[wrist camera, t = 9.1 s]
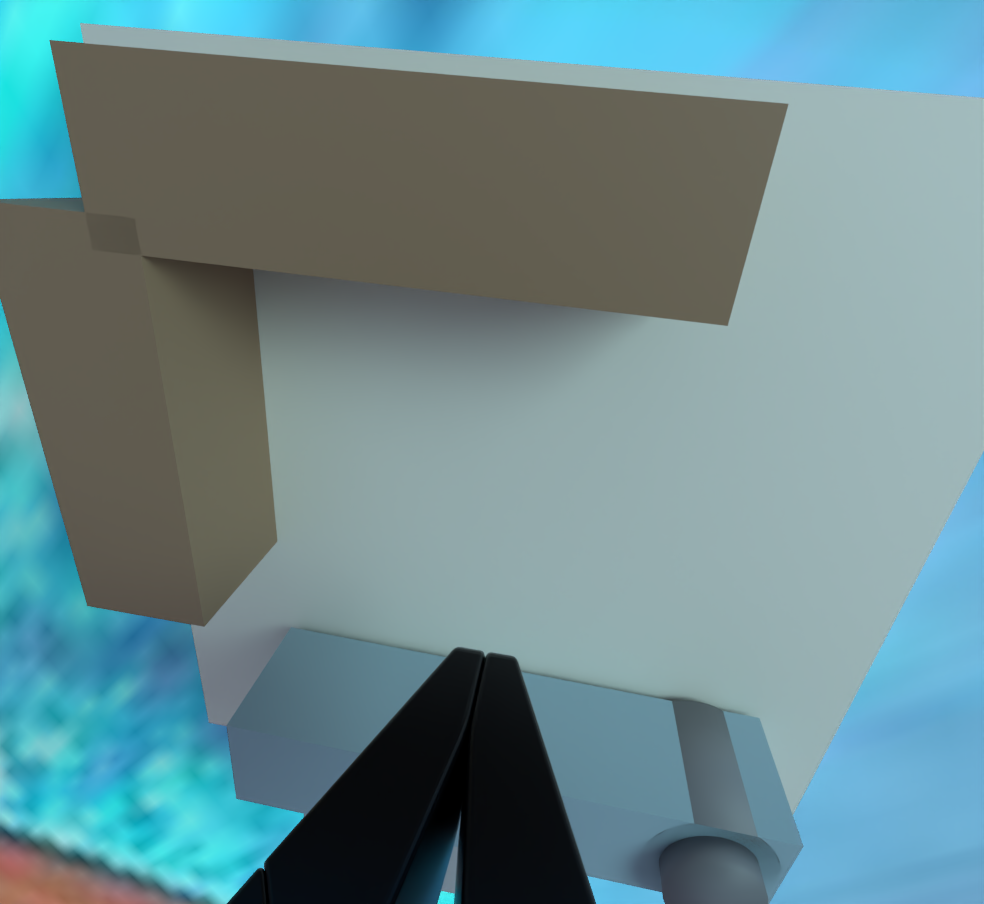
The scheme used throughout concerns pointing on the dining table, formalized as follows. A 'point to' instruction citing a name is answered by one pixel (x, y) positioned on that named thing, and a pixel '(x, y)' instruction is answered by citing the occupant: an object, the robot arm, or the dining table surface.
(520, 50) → the dining table surface
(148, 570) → the seat
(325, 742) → the leg
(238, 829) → the dining table surface
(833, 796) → the dining table surface
